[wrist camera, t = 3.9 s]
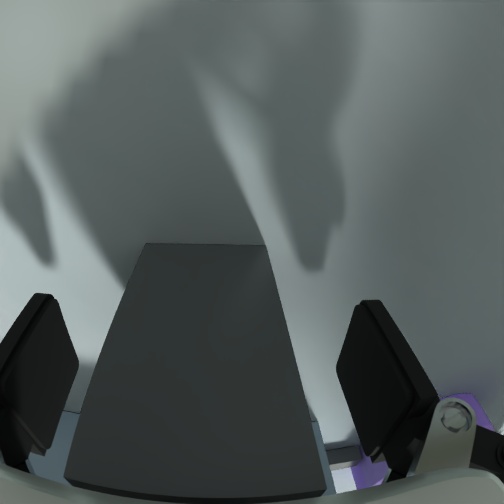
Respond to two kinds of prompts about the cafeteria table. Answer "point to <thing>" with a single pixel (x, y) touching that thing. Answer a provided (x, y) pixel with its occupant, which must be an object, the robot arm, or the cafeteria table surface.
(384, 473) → the masking tape
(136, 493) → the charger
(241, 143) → the cafeteria table surface
